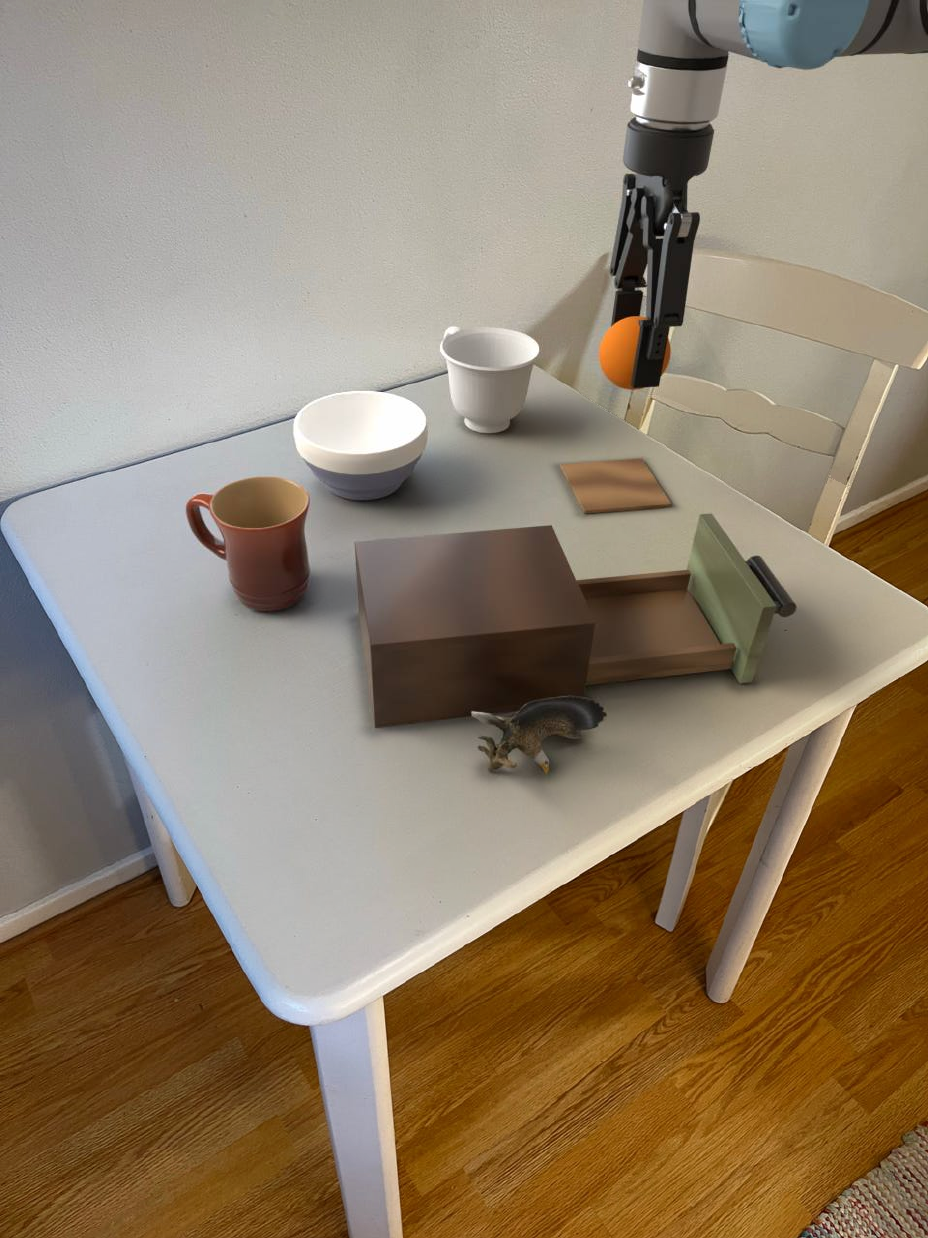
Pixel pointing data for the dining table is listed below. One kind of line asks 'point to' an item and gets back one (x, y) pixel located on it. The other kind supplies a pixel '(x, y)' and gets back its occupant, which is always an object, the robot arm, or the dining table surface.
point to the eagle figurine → (539, 727)
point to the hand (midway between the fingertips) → (632, 368)
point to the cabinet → (470, 623)
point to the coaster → (614, 486)
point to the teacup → (488, 374)
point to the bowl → (361, 442)
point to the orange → (623, 352)
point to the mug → (258, 538)
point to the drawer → (685, 614)
